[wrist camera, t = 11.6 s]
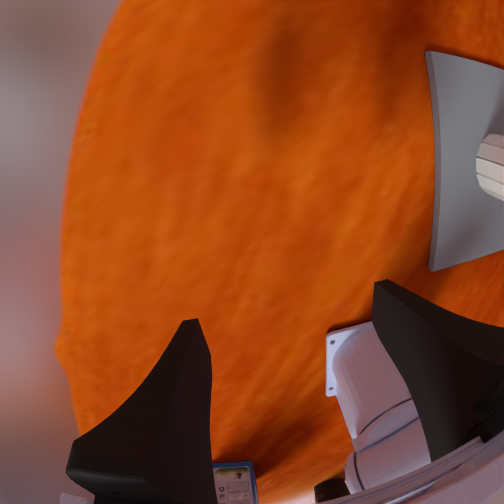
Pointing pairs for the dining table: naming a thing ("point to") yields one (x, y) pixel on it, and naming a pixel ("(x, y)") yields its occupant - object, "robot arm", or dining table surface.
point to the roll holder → (463, 158)
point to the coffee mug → (330, 490)
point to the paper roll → (491, 165)
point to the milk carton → (235, 483)
